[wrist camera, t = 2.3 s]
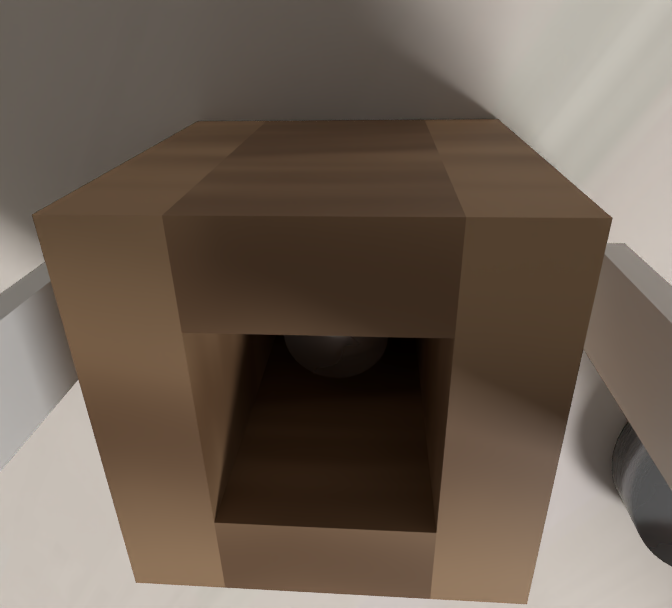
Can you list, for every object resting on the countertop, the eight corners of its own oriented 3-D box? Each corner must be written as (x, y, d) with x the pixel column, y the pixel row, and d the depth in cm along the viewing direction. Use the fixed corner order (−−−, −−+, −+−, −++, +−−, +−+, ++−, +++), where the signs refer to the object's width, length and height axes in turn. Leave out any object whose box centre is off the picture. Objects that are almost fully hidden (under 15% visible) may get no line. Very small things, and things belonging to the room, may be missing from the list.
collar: (197, 121, 15) (32, 214, 8) (498, 119, 14) (612, 217, 7) (229, 367, 19) (135, 582, 12) (469, 373, 18) (526, 604, 11)
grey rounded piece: (304, 220, 16) (280, 286, 12) (387, 221, 16) (389, 287, 12) (308, 294, 17) (286, 376, 13) (385, 295, 17) (387, 379, 13)
